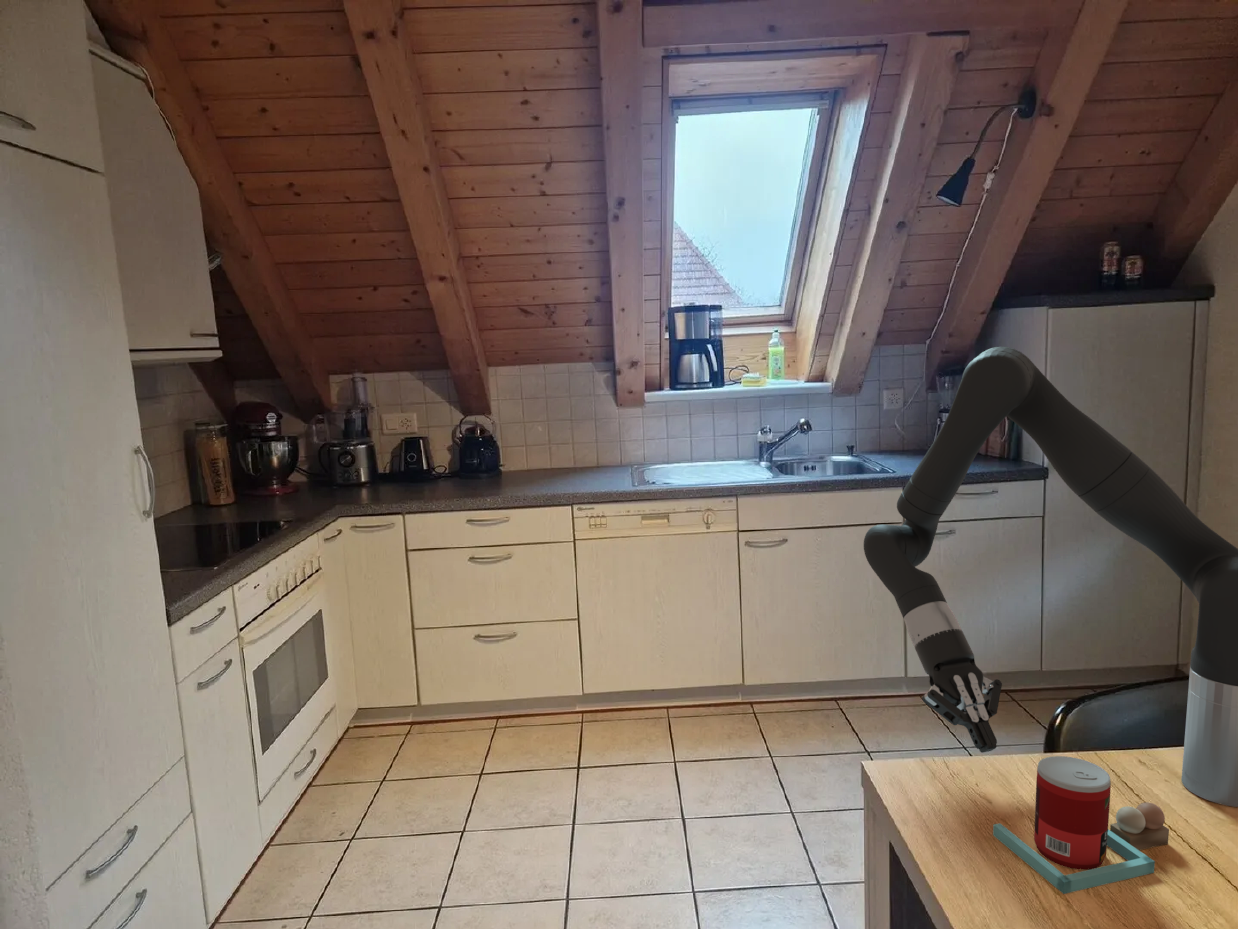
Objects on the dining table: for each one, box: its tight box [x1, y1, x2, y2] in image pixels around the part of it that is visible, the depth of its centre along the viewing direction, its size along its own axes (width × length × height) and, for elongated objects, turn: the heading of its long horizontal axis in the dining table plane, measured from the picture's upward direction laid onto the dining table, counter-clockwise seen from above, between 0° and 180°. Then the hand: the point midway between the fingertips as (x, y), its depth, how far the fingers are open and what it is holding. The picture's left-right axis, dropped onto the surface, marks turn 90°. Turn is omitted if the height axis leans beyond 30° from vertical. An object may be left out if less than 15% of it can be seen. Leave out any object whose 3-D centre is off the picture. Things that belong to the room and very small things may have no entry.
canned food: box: [1033, 755, 1112, 871], centre depth 103 cm, size 8×8×11 cm
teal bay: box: [992, 822, 1156, 895], centre depth 103 cm, size 13×12×2 cm
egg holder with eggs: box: [1109, 801, 1170, 851], centre depth 105 cm, size 6×3×5 cm, turn 104°
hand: (989, 750), depth 117 cm, fingers closed
